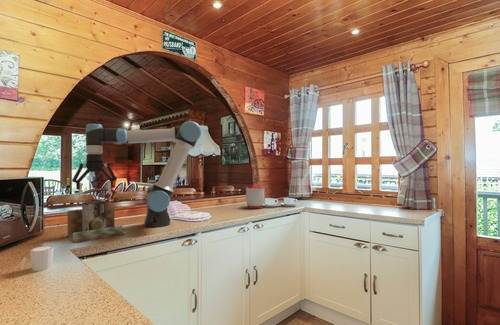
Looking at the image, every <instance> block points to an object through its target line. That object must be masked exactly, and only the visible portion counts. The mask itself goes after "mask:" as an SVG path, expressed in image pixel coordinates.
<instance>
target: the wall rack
mask: <svg viewBox="0 0 500 325" xmlns="http://www.w3.org/2000/svg"><path fill="white" fill-rule="evenodd" d="M105 210H106V228H103V229H96V230H90V231H83V227H82V209H73V210H66V211H67V235H66V236H67V237H68V238H69V239H70V241H72V242H73V244H80V243H85V242H86V243H87V242H90V241H91V242H92V241H97V240H102V239H109V238H113V237H114V236H115V237H120V236H124V235H125V232H123V226H122V225H116V226H115V222H116V221H115V205H112V206H111V205H110V206H105Z"/></svg>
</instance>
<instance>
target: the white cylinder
mask: <svg viewBox="0 0 500 325" xmlns="http://www.w3.org/2000/svg"><path fill="white" fill-rule="evenodd" d="M54 248H55V247H54V246H53V245H46V246H38V247H37V246H36V247H34V248H32V249H30V250H29V254H30V262H31V263H30V264H31V269H32V270H31V271H32V272H40V271H46V270H49V269H51V268H52V267H53V259H54V251H55V250H54Z"/></svg>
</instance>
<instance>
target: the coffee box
mask: <svg viewBox="0 0 500 325" xmlns="http://www.w3.org/2000/svg"><path fill="white" fill-rule="evenodd" d="M81 205H82V206H81V208H82V227H83V231H90V230H96V229H103V228H106V210H105V207H106V201H104V200H94V201H87V202H82V203H81Z"/></svg>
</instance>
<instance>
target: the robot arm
mask: <svg viewBox="0 0 500 325" xmlns="http://www.w3.org/2000/svg"><path fill="white" fill-rule="evenodd" d="M201 137H202V129H201V126H200V125H199V124H198V123H197V122H195V121H192V120H187V121H185V122H183V123H182V124H181V125H178V126H173V127H172V128H161V129H160V128H158V129H157V128H156V129H137V130H134V129H133V130H127V129H126V128H120V127H119V128H110V127H109V128H107V127H106V128H104V127H103V125H102V124H100V123H87V124H86V125H85V154H86V156H85V157H86V160H85V161H86V163H82V162H81V163H79V165H78V168H77V170H76V172H75V174H74V176H73V177H72V180H71V182H73V183H75V185H76V187H75V188H76V190H78V196H79V197H82V196H83V193H82V192H83V189H82V188H83V185H82V184H83V183H82V181H83V179H84V178H85V177H86V176H87V175H88V174H89V173H95V172H96V173H99V172H100V173H101V174H102V175H103V176H104V177H105V178H106V179H107V180H108V181H107V194H112V188H113V187H114V183H113V182H114V181H116V180H117V177H116V175H115V173H114V172H113V170H112V168H111V163H109V162H106V163H104V155H103V152H104V151H103V144H104V143H105V144H106V143H111V144H114V145H124V144H127V145H128V144H138V143H139V144H140V143H143V144H144V143H158V142H159V143H162V142H173V143H175V144H174V147H173V149H172V151H171V153H170V156H169V157H168V159H167V161H166V164H165V166H164V168H163V170H162V173H161V174H160V177H159V179H158V181H157V182H155V183H153V185H152V186H147V188H146V189H147V190H146V215H145V218H144V221H143V226H145V227H147V228H160V227H166V226H170V225H171V218H170V214H169V212H168V207H169V206H170V203H171V198H172V196H173V194H174V192H175V191H174V185H175V183H176V181H177V179H178V177H179V175H180V172H181V170H182V168H183V165H184V163H185V161H186V159H187V158H188V155H189V152H190V151H191V150H193V149H194V148H195V145H196V144H197V142H198V140H199V139H200V138H201ZM85 167H86V168H87V169H85V171H84V172H83V173H82V174H81V172H82V170H83V168H85ZM104 167H105V168H106V170H107V171H108V173H109V174H108V173H107V172H106V171H105V170H104ZM80 174H81V175H80ZM79 176H80V177H79Z"/></svg>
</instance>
